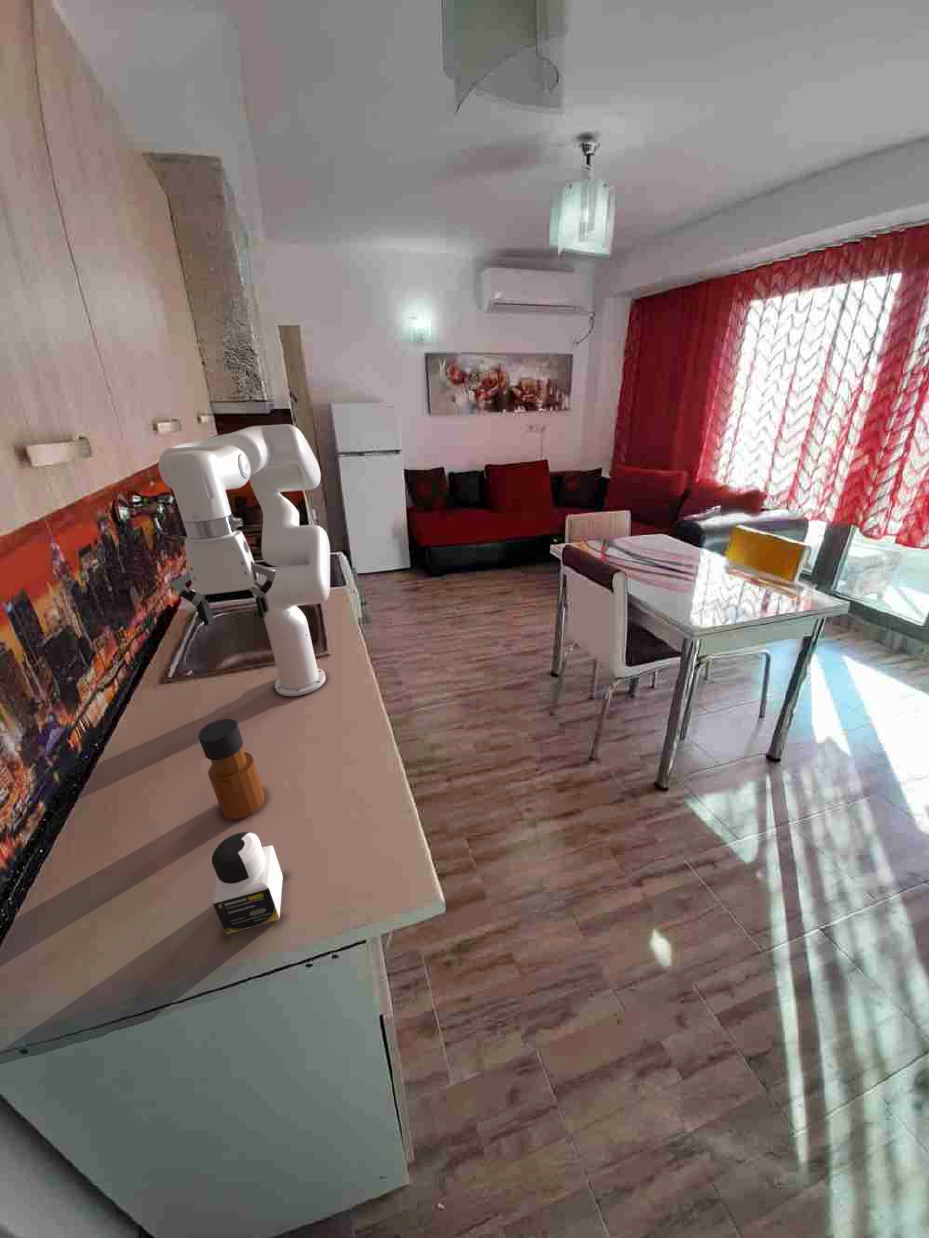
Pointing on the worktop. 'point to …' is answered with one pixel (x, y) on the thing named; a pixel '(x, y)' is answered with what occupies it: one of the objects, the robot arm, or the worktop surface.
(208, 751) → the stopper
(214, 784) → the amber bottle
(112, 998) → the worktop surface
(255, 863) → the medicine bottle
